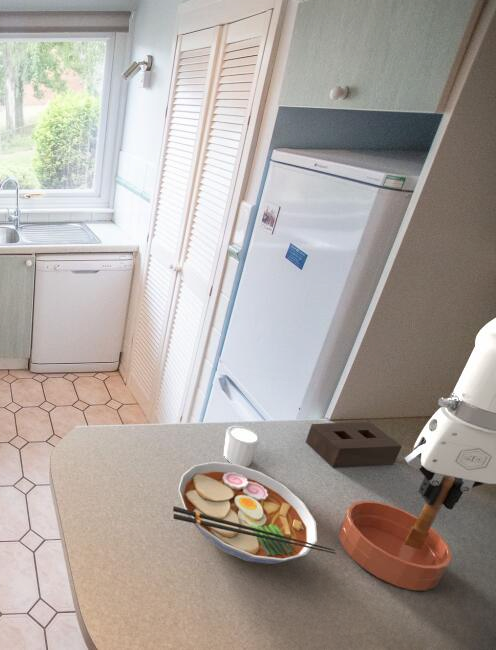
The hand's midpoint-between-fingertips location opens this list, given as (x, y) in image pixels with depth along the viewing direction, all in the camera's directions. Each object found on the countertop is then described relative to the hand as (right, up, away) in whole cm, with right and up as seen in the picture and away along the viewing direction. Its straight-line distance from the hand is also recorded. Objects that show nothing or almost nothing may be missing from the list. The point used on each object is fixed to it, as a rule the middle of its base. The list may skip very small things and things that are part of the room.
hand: (435, 500), depth 77 cm
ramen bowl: (-28, -11, +10) cm, 32 cm away
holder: (+10, -2, +31) cm, 32 cm away
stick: (0, -10, +4) cm, 11 cm away
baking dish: (-3, -13, +6) cm, 14 cm away
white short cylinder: (-17, -3, +29) cm, 34 cm away
